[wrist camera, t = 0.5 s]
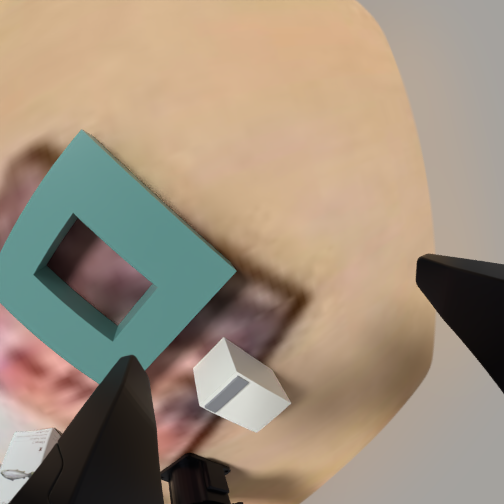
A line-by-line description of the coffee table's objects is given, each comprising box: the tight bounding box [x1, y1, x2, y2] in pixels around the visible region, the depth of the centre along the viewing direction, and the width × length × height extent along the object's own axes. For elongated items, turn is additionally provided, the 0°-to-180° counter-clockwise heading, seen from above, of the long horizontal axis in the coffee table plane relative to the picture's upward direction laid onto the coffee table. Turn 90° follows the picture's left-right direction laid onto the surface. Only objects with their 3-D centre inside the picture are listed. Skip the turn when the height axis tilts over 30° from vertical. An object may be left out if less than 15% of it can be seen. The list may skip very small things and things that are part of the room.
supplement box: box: [0, 428, 61, 504], centre depth 15 cm, size 7×7×13 cm
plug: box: [193, 337, 291, 433], centre depth 22 cm, size 4×6×5 cm, turn 45°
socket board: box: [0, 129, 236, 384], centre depth 18 cm, size 14×14×2 cm
